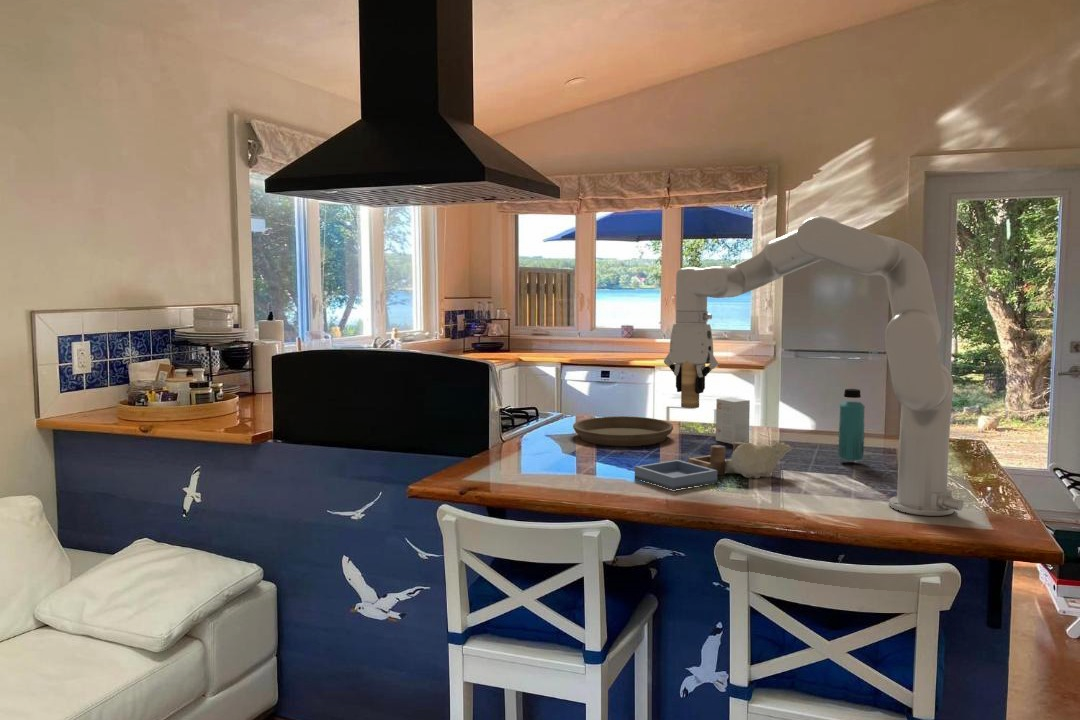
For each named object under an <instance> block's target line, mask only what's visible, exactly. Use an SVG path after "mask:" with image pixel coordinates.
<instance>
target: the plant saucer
mask: <svg viewBox="0 0 1080 720" xmlns="http://www.w3.org/2000/svg"><path fill="white" fill-rule="evenodd" d="M572 427H573V430H574V432H575V433H576V434H577V435H578V436H579V437H580V439H581V440H582V441H584V442H587V443H591V444H595V445H603V446H612V447H613V446H614V447H643V446H642V445H644V446H651V444H652V445H656V443H657V444H660V443H662V442H665V440H666V439H667V437H668V436H669V435H670V434H672V431H673V430H674V426H673V424H672V423H671V422H669V421H666V420H661V419H658V418H657V419H656V418H654V417H653V418H651V417H644V416H643V417H642V416H630V415H628V416H625V415H622V416H619V415H618V416H617V415H615V416H599V417H593V418H592V417H591V418H586V419H585V418H584V419H581V420H579V421H576V422H574V423H573V426H572Z"/></svg>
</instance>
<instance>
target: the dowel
mask: <svg viewBox="0 0 1080 720" xmlns="http://www.w3.org/2000/svg"><path fill="white" fill-rule="evenodd" d="M696 377H698V374H697V368H696V365H693V364H690V363H689V362H688V361H685V363H683V364H682V376H681V393H680V394H681V395H680V401H681V402H680V407H681V408H683V409H699V408H700V393H699V394H697V393H696V392H695V390H696Z"/></svg>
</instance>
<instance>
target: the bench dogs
mask: <svg viewBox="0 0 1080 720" xmlns="http://www.w3.org/2000/svg"><path fill="white" fill-rule="evenodd" d="M744 443H745V442H734V443H733V444H732V446H733V447H732V450H733V452H734V451H735V449H737V447H738V446H739V445H741V444H744ZM733 452H732V453H733ZM709 455H710V469H714V470H718V473H717V475H723V476H725V475H724V474H726V472H725V459H726V446H725V445H718V444H714V445H710V454H709Z"/></svg>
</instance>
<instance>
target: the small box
mask: <svg viewBox="0 0 1080 720" xmlns="http://www.w3.org/2000/svg"><path fill="white" fill-rule="evenodd" d="M750 402H751V401H750V400H749V399H742V398H737V397H723V398H722V397H721V398H716V404H715V405H716V407H715V408H716V410H715V412H716V413H715V415H716V416H715V418H716V419H715V442H722V443H726V444H731V445H733V443H734V442H745V443H750V406H751V404H750Z"/></svg>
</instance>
